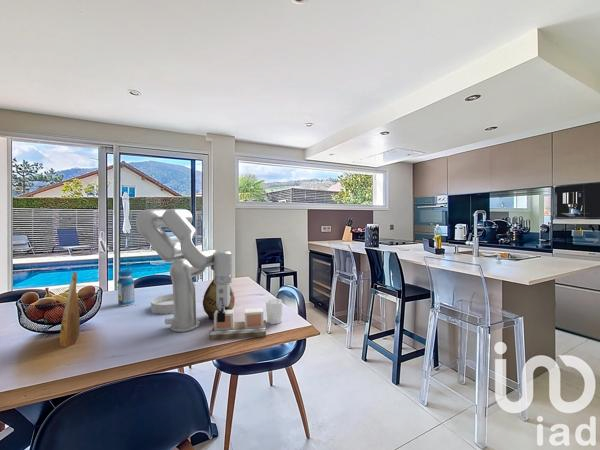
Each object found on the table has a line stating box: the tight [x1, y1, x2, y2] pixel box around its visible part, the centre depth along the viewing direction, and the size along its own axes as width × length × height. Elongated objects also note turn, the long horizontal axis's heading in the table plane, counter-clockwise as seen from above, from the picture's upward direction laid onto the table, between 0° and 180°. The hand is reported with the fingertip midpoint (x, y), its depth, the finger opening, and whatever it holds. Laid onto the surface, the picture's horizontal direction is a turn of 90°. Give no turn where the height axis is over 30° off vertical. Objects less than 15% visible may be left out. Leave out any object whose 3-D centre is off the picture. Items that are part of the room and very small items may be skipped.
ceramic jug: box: [202, 265, 236, 322], centre depth 146 cm, size 17×15×30 cm
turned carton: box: [213, 309, 235, 330], centre depth 127 cm, size 8×5×7 cm, turn 97°
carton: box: [244, 307, 265, 329], centre depth 128 cm, size 8×5×7 cm, turn 97°
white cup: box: [265, 298, 283, 325], centre depth 138 cm, size 8×8×10 cm
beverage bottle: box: [116, 268, 136, 307], centre depth 169 cm, size 8×8×20 cm
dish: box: [150, 293, 174, 315], centre depth 163 cm, size 22×22×5 cm
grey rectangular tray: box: [209, 319, 267, 341], centre depth 127 cm, size 23×13×3 cm, turn 97°
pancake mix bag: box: [59, 270, 81, 348], centre depth 121 cm, size 7×19×28 cm, turn 30°
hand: (222, 317), depth 127 cm, fingers open, 9 cm apart
